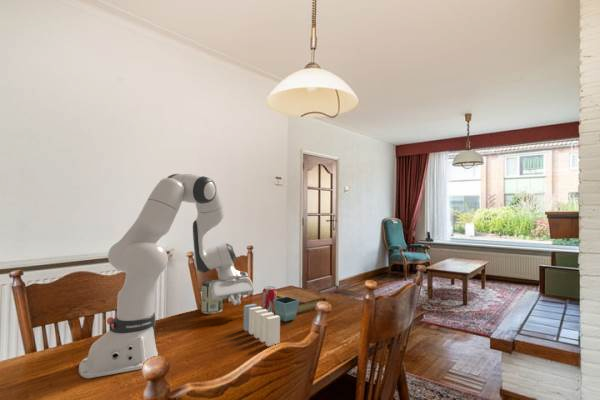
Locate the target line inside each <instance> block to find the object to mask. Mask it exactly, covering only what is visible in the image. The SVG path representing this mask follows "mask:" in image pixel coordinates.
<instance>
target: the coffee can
mask: <svg viewBox="0 0 600 400" xmlns="http://www.w3.org/2000/svg"><path fill="white" fill-rule="evenodd" d="M212 280H213V279H209V280H208V279H207V280H204V281H202V282H201V313H203V314H207V315H211V314H218V313H221V312H223V308H224V307H223V302H224V301H223V300H224V299H218V300H214V299H212V296H211V289H210V287H209V282H211V281H212Z"/></svg>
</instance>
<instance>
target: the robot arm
mask: <svg viewBox="0 0 600 400" xmlns="http://www.w3.org/2000/svg"><path fill="white" fill-rule="evenodd" d="M182 202H185V203H193V204H195V206H196V212H197V215H196V216H197V217H196V219H195V220H194V221H193V223H192V239H193V240H192V241H193V252H194V256H193V263H194V267H195V268H196V270H197V271H198V272H199V273H200V272H201V273H203V274H206V273H208V272H209V271H212V270H216V272H217V277H218V279H211V280H212V281H211V282H209V287H210V289H211V296H212V299H214V300H218V299H223V300H224V299H228V300H229V301H231V302H232V304H233V306H237V305H239V306H240V305H241V304H242V301H241V297H242V296H246V295H252V294H253V292H254V291H255V286H254V283H253V281H252V280H251V278H250V277H249V274H248V272H247V271H242V270H241V271H240V270H238V269H236V268H235V262H236V259H237V255H236V253H235V251H234V248H233V246H232V245H231V244H229V243H226V242H225V243H222V244H219V245H216V246H213V247H210V248H206V249H204V236H205V235H206V234H207V233H208V232H210V231H211V230H212V229H213V228H215V227H217V226H218V225H219V224H220V223H221V222H222V220H223V218H224V216H225V209H224V204H223V201H222V197H221V194H220V191H219V189H218V187H217V186H216V183H215V182H214V180H213V179H211V178H210V177H207V176H200V175H197V174H196V175H195V174H189V173H174V174H170V175H169V176H167V177H166V178H163V179H160V181H158V183H157V184H156V185H155V187H154V188H153V189H152V190H151V193H150V194H149V196H148V197H147V200H146V202H145V204H144V205H143V207H142V209H141V212H140V213H139V214H138V217H137V218H136V220H135V221H134V222H133V224H132V225H131V227H130V228H129V229H128V230H127V232H125V234H124V235H123V236H122V237H121V239H120V240H118V242H115V243H114V244H113V245H112V246H111V247H110V248H109V250H108V253H107V260H108V262H109V263H110V265H111V266H112V267H113V268H115V269H116V270H117V271H119V272H124V273H125V277H124V278H125V279H124V283H123V285H122V287H121V289H120V290H119V291H118V293H117V299H116V303H117V304H116V306H117V307H116V316H115V317H114V318H113V317H112V316H109V317H108V318H107V319H106V323H107V325H108V326H109V327H108V329H109V330H108V331H106V332H105V333H104V334H103V335H102V336H100V337H99V338H97V340H95V341H94V342H93V343H92V344H91V346H90V347H89V351H88V354H87V357H85V358H84V359H82V360H81V361H80V362H79V365H78V374H79V375H80V376H81V377H82V378H85V379H93V378H99V377H103V376H109V375H116V374H119V373H120V374H121V373H126V372H132V371H137V370H141V369H143V368H142V366H143V363H144V362H145V361H146V360H147V359H149V358H151V357H153V356H157V357H158V355H159V352H158V348H157V345H156V340H155V329H156V328H155V327H156V313H155V312H154V311H155V310H154V309H155V292H156V287H157V282H158V280H159V278H160V275H161V273H163V272H164V271H165V270H166V267H167V266H168V263H169V256H168V253H167V251H166V249H165V248H163V247H161V246H160V245H158V244H157V243H158V241H159V240H160V239H161V238H162V237H163V236H165V235H166V234H167V233H168V232H169V231H170V229H171V227H172V225H173V223H174V221H175V218H176V216H177V214H178V212H179V210H180V208H181V204H182ZM235 298H236V299H235Z"/></svg>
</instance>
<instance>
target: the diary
mask: <svg viewBox="0 0 600 400" xmlns="http://www.w3.org/2000/svg"><path fill="white" fill-rule="evenodd" d="M283 297H291V298H294V299H297V300H299V305H298V311H297V314H296V315H301V314H304V313H308V312H311V311H315V310H314V309H315V305H316V303H317V302H319V301H326V302H327V298H326V297H325V296H322V295H320V294H316V293H314V292H313V293H312V292H309V291H306V290H303V289H300V288H292V289H287V290H282V291H277V299H278V298H283Z"/></svg>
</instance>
